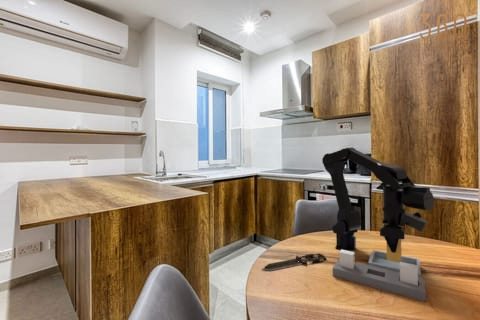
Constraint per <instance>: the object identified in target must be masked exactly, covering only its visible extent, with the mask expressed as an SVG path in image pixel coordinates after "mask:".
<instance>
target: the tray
mask: <svg viewBox="0 0 480 320" xmlns="http://www.w3.org/2000/svg"><path fill="white" fill-rule="evenodd" d="M401 262H404V263H409V264H414V265H418V277H421V278H422V273H421V260H420V258H415V257H412V256H411V257H410V256H406V255H402V261H401ZM367 265H370V266H374V267H378V268H382V269H387V270H391V271H395V272H400V263H399V262H394V261H390V260H387V251H380V250H375V249H373V250H372V252H371V254H370V257H369V259H368V264H367Z"/></svg>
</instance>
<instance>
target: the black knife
mask: <svg viewBox="0 0 480 320" xmlns="http://www.w3.org/2000/svg"><path fill="white" fill-rule="evenodd" d="M317 255H318V256H317ZM310 256H312V257H313V258H312V257H310ZM305 257H307V258H308V259H307V260H303V258H304V259H305ZM311 258H312V259H311ZM301 259H302V260H301ZM321 260H323V261H327V257H326V256H325V255H324V254H322V253H309V254H305V255H302V256H299V255H295V258H291V259H286V260H281V261H278V262H272V263H268V264H266V265H265V266H264V268H262V269H261V270H260V271H271V272H272V271H275V270H280V269H286V268H290V267H295V266H299V265H302V264H304V265H305V264H306V265H308V262H312V264H316V263H320V262H321ZM298 261H299V262H298Z"/></svg>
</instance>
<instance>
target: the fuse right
mask: <svg viewBox="0 0 480 320" xmlns="http://www.w3.org/2000/svg"><path fill="white" fill-rule="evenodd" d="M400 281H401V282H405V283H409V284H413V285H417V286H418V265H414V264H409V263H404V262H400Z"/></svg>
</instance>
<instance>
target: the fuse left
mask: <svg viewBox="0 0 480 320" xmlns="http://www.w3.org/2000/svg"><path fill="white" fill-rule="evenodd" d="M355 256H356V255H355V251H353V252H352V251H347V250H342V249H340V250H339V258H340V266H341V267H345V268H349V269H353V270H354V269H355V260H356V259H355V258H356V257H355Z"/></svg>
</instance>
